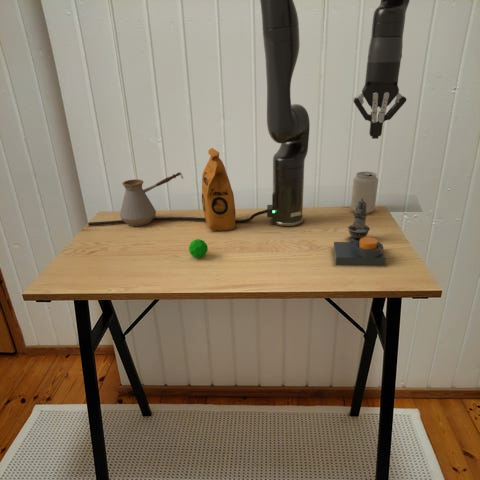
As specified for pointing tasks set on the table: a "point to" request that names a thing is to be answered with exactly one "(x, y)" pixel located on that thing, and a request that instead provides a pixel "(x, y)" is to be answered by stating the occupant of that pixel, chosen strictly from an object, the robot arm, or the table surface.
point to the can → (364, 190)
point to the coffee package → (217, 195)
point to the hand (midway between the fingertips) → (374, 137)
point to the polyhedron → (198, 248)
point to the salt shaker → (359, 223)
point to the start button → (368, 243)
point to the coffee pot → (139, 202)
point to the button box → (358, 254)
